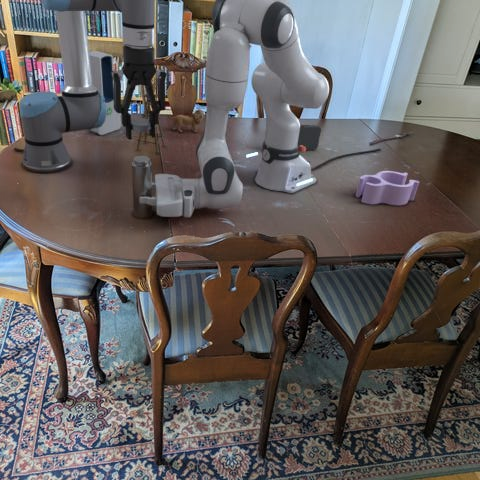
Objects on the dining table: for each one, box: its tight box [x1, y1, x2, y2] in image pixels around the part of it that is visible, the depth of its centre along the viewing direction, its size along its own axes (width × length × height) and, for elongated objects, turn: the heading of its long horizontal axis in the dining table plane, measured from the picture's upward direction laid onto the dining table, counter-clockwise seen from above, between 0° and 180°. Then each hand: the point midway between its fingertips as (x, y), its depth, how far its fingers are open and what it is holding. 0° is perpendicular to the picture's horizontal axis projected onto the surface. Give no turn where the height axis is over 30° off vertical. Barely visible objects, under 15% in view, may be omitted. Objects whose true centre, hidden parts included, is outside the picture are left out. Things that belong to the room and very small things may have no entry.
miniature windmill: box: [136, 74, 166, 154], centre depth 171 cm, size 9×8×30 cm
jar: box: [131, 155, 153, 219], centre depth 133 cm, size 5×5×18 cm
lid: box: [131, 117, 151, 133], centre depth 123 cm, size 6×6×2 cm
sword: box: [370, 133, 413, 145], centre depth 213 cm, size 31×3×1 cm, turn 126°
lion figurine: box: [169, 108, 205, 133], centre depth 196 cm, size 15×5×9 cm, turn 110°
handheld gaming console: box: [297, 124, 322, 151], centre depth 189 cm, size 23×3×10 cm, turn 108°
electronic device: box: [88, 50, 122, 136], centre depth 182 cm, size 12×8×30 cm, turn 148°
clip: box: [355, 170, 420, 206], centre depth 160 cm, size 20×12×7 cm, turn 109°
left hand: (140, 136), depth 125 cm, fingers closed on lid, 6 cm apart
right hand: (139, 193), depth 134 cm, fingers closed on jar, 5 cm apart
